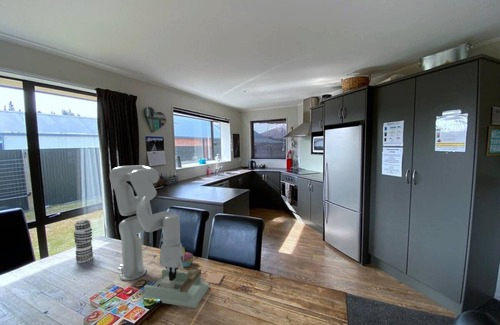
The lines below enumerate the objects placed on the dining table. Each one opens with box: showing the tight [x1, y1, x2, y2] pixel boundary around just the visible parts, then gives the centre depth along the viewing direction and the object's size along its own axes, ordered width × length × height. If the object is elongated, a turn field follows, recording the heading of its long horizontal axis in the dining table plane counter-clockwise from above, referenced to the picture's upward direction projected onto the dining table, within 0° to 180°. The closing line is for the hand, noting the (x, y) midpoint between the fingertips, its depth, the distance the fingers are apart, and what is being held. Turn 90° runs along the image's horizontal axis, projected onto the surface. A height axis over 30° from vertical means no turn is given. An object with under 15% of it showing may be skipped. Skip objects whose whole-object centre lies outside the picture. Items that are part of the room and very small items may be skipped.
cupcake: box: [182, 246, 194, 268], centre depth 123 cm, size 9×8×12 cm
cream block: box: [160, 276, 175, 289], centre depth 99 cm, size 4×4×6 cm
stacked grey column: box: [73, 219, 94, 264], centre depth 132 cm, size 9×9×25 cm
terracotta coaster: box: [203, 272, 225, 286], centre depth 109 cm, size 8×8×1 cm
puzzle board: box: [142, 268, 210, 309], centre depth 98 cm, size 26×14×7 cm, turn 78°
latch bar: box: [180, 268, 202, 292], centre depth 96 cm, size 3×14×5 cm, turn 168°
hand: (172, 279), depth 99 cm, fingers closed
